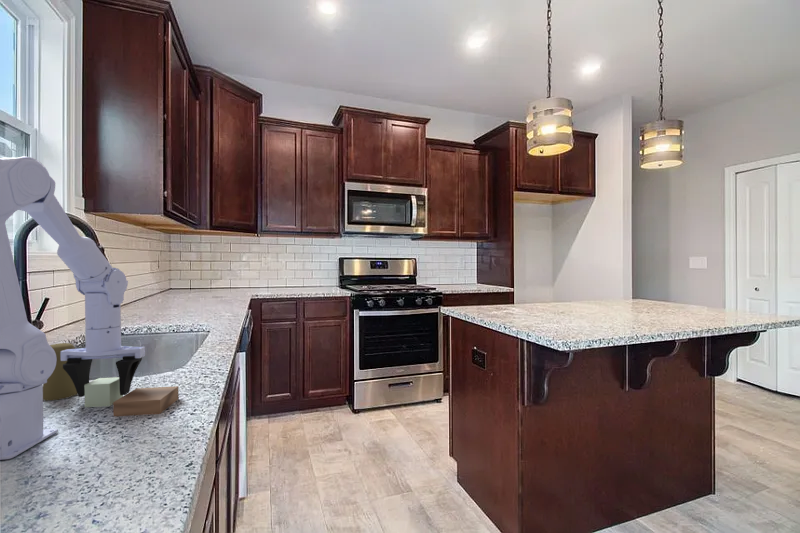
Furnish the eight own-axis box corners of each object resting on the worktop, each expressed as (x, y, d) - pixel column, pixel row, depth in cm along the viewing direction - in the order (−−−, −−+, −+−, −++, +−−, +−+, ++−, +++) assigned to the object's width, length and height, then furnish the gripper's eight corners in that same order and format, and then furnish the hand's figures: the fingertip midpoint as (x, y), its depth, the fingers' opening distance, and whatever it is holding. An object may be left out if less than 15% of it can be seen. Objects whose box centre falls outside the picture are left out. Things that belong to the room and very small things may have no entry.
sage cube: (109, 406, 77) (109, 383, 77) (84, 407, 76) (84, 384, 76) (122, 398, 82) (122, 377, 81) (99, 399, 81) (98, 378, 81)
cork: (44, 402, 79) (43, 348, 79) (37, 396, 83) (36, 344, 83) (82, 394, 84) (81, 343, 84) (74, 389, 88) (73, 340, 87)
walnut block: (160, 415, 73) (160, 399, 73) (113, 418, 72) (113, 402, 72) (178, 400, 81) (178, 386, 81) (136, 403, 80) (136, 388, 80)
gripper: (152, 323, 84) (152, 386, 84) (77, 324, 82) (78, 389, 82) (134, 328, 77) (135, 397, 77) (52, 330, 75) (53, 401, 75)
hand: (104, 394), depth 79 cm, fingers open, 7 cm apart
